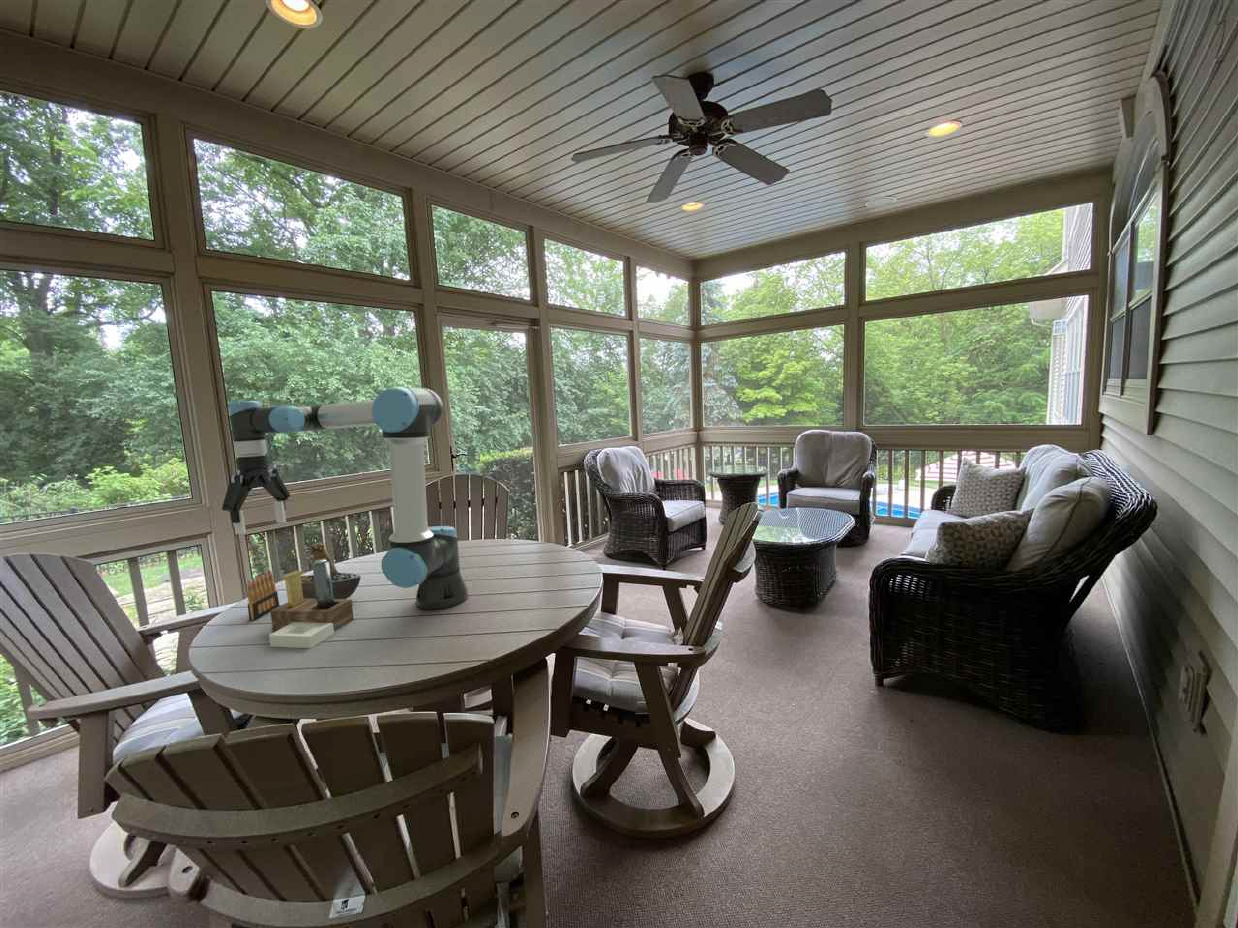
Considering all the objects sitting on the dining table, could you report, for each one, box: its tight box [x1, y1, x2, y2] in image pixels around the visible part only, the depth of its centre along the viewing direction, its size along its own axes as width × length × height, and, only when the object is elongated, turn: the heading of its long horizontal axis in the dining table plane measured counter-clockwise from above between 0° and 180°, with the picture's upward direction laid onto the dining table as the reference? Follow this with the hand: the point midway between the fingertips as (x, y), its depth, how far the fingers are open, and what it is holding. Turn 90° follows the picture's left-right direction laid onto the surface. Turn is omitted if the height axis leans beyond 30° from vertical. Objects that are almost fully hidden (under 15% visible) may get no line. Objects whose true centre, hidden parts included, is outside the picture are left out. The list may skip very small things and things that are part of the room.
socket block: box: [269, 598, 355, 633], centre depth 142 cm, size 18×9×6 cm, turn 80°
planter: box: [300, 541, 362, 599], centre depth 157 cm, size 15×17×20 cm
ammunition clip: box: [247, 569, 280, 622], centre depth 153 cm, size 11×2×12 cm, turn 0°
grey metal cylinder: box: [312, 559, 334, 609], centre depth 140 cm, size 4×4×17 cm
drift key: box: [281, 570, 304, 608], centre depth 142 cm, size 2×5×10 cm, turn 170°
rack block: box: [268, 622, 335, 649], centre depth 133 cm, size 12×8×3 cm, turn 80°
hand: (262, 527), depth 148 cm, fingers open, 13 cm apart
